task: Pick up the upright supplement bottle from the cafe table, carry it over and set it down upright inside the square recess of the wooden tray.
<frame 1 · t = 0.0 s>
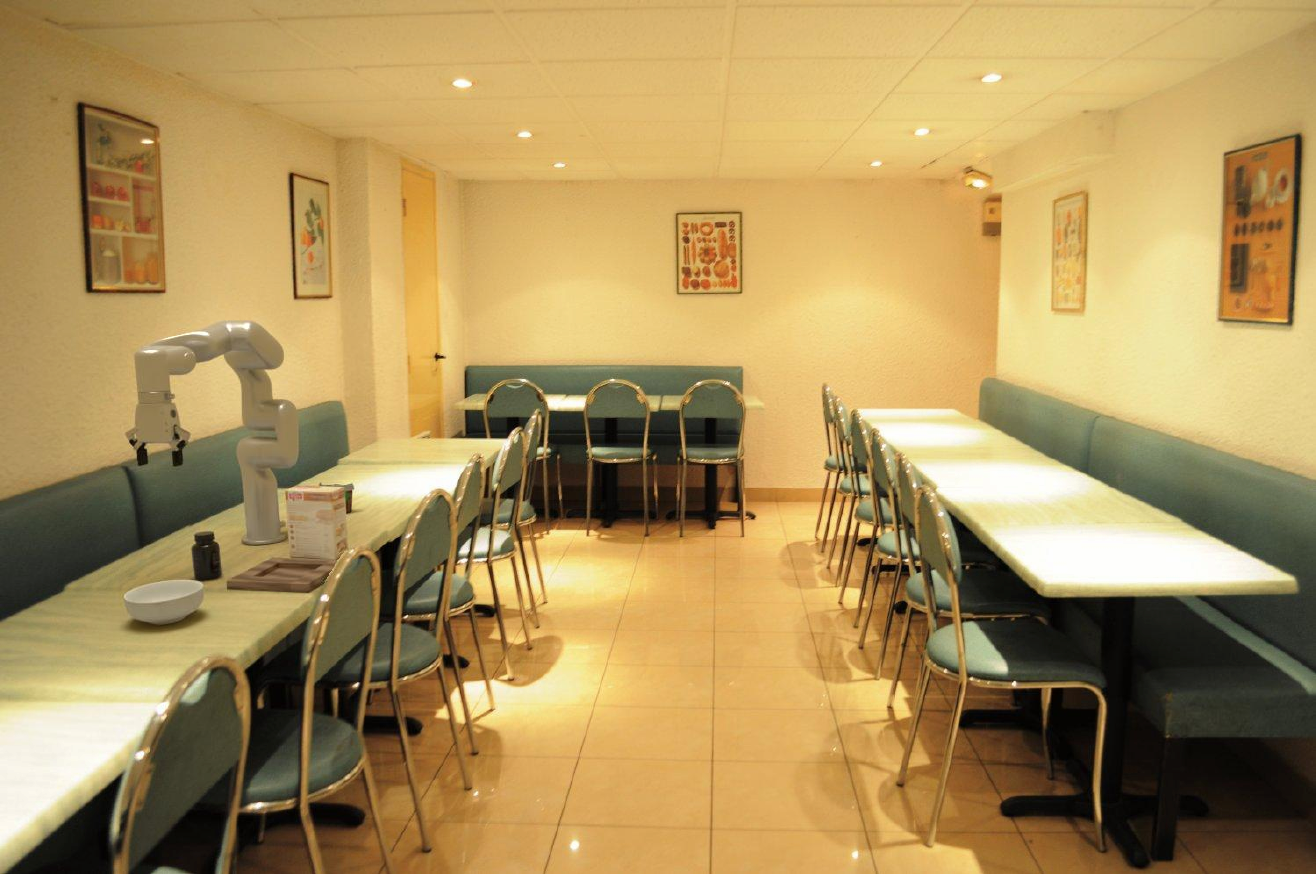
hand: (160, 465, 261), 31 cm above the table, fingers open, 9 cm apart
cereal bowl: (166, 620, 239), on the table
wooden tray: (289, 578, 270), on the table
coffeecake box: (319, 556, 292), on the table
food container: (334, 514, 343), on the table
supplement bottle: (208, 578, 272), on the table
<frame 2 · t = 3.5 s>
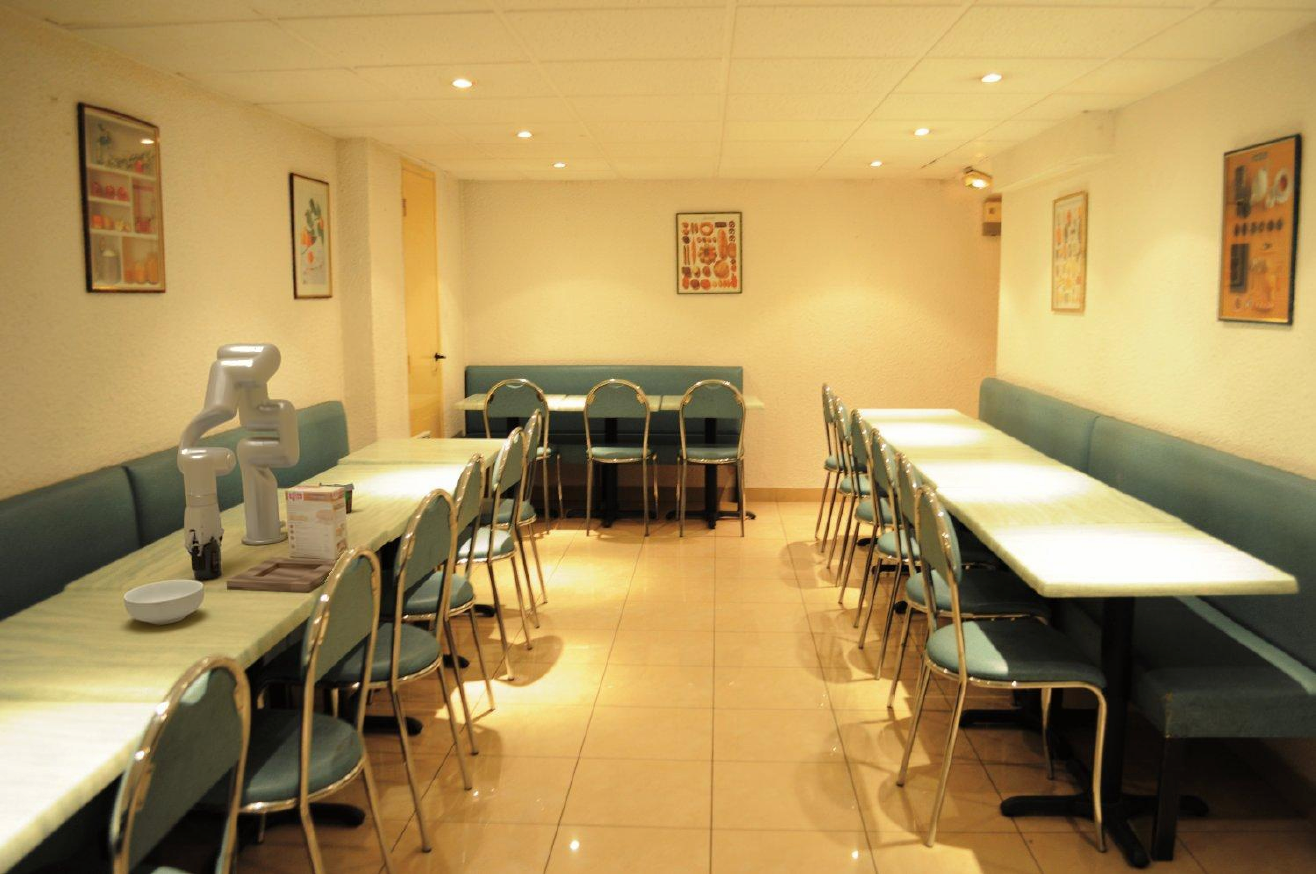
hand: (207, 565, 271), 3 cm above the table, fingers closed on supplement bottle, 6 cm apart
supplement bottle: (208, 578, 272), on the table, touching gripper
everything else where it was.
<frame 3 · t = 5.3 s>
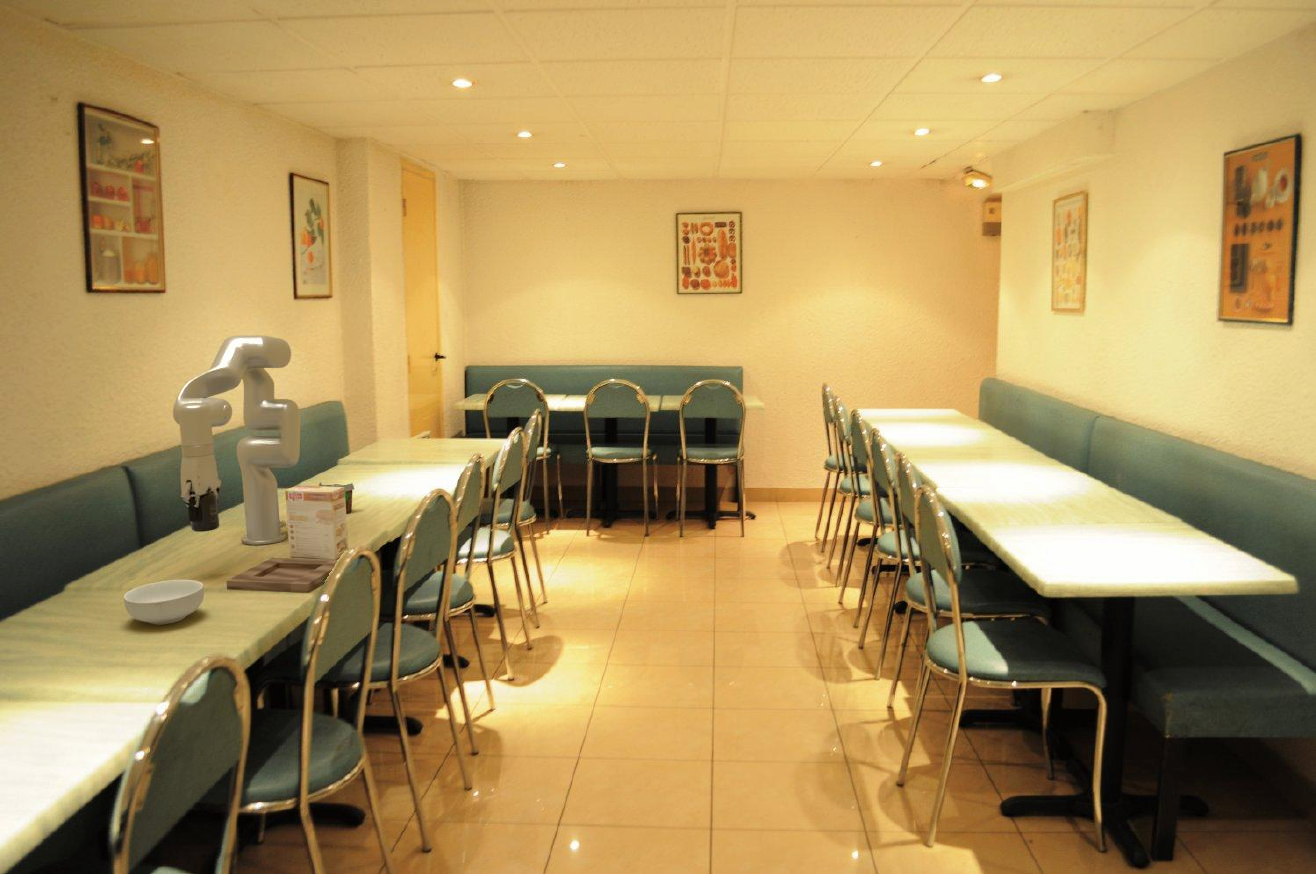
hand: (204, 517, 270), 16 cm above the table, fingers closed on supplement bottle, 6 cm apart
supplement bottle: (205, 529, 271), point 13 cm above the table, touching gripper
everything else where it was.
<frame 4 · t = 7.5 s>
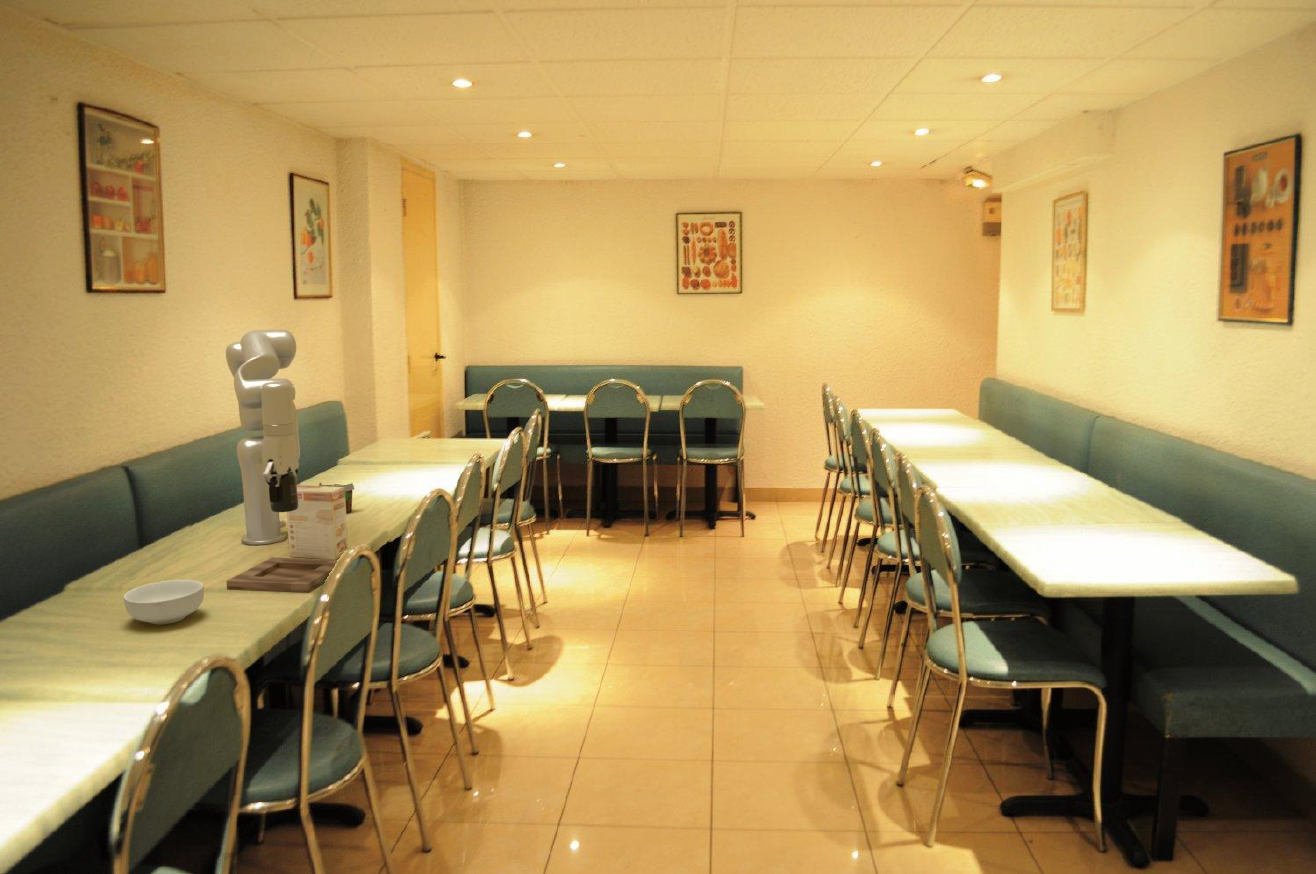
hand: (283, 497, 267), 21 cm above the table, fingers closed on supplement bottle, 6 cm apart
supplement bottle: (284, 510, 268), point 18 cm above the table, touching gripper
everything else where it was.
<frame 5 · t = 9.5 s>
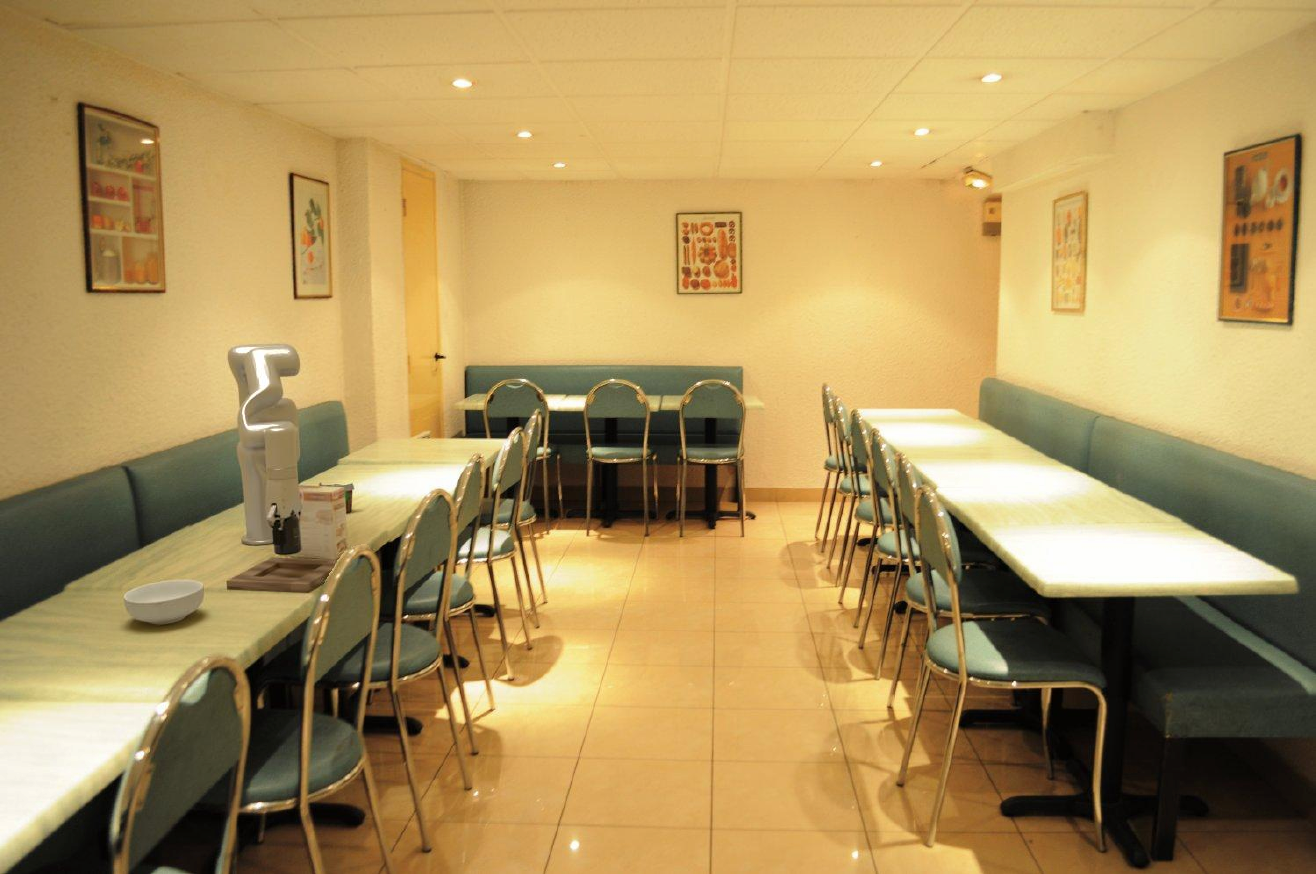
hand: (286, 540, 269), 10 cm above the table, fingers closed on supplement bottle, 6 cm apart
supplement bottle: (287, 553, 269), point 7 cm above the table, touching gripper
everything else where it was.
when the fingers open (5 cm above the table, at t = 11.4 s): supplement bottle drops 1 cm, resting on wooden tray.
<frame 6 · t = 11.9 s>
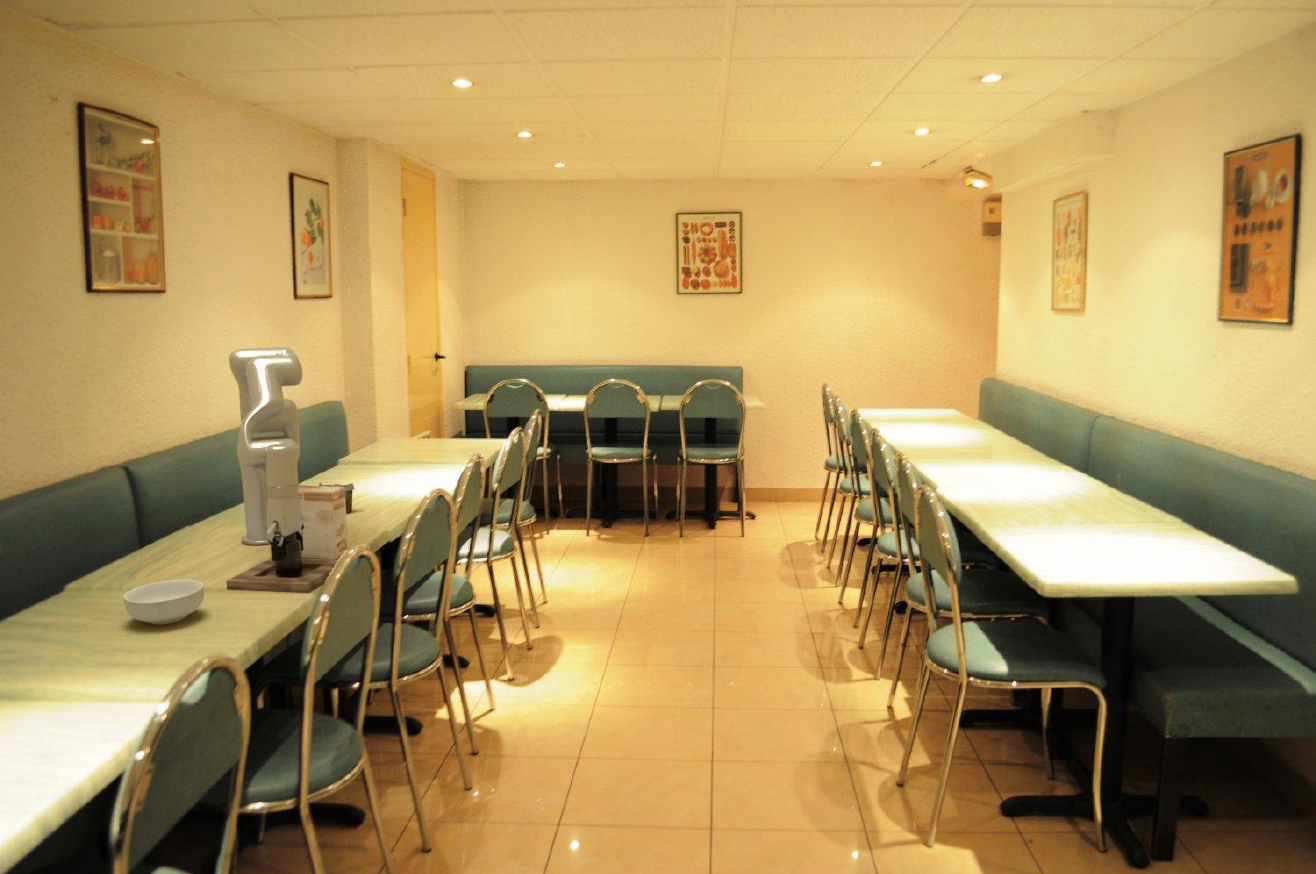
hand: (288, 555, 269), 6 cm above the table, fingers open, 9 cm apart
supplement bottle: (289, 575, 271), point 1 cm above the table, touching wooden tray
everything else where it was.
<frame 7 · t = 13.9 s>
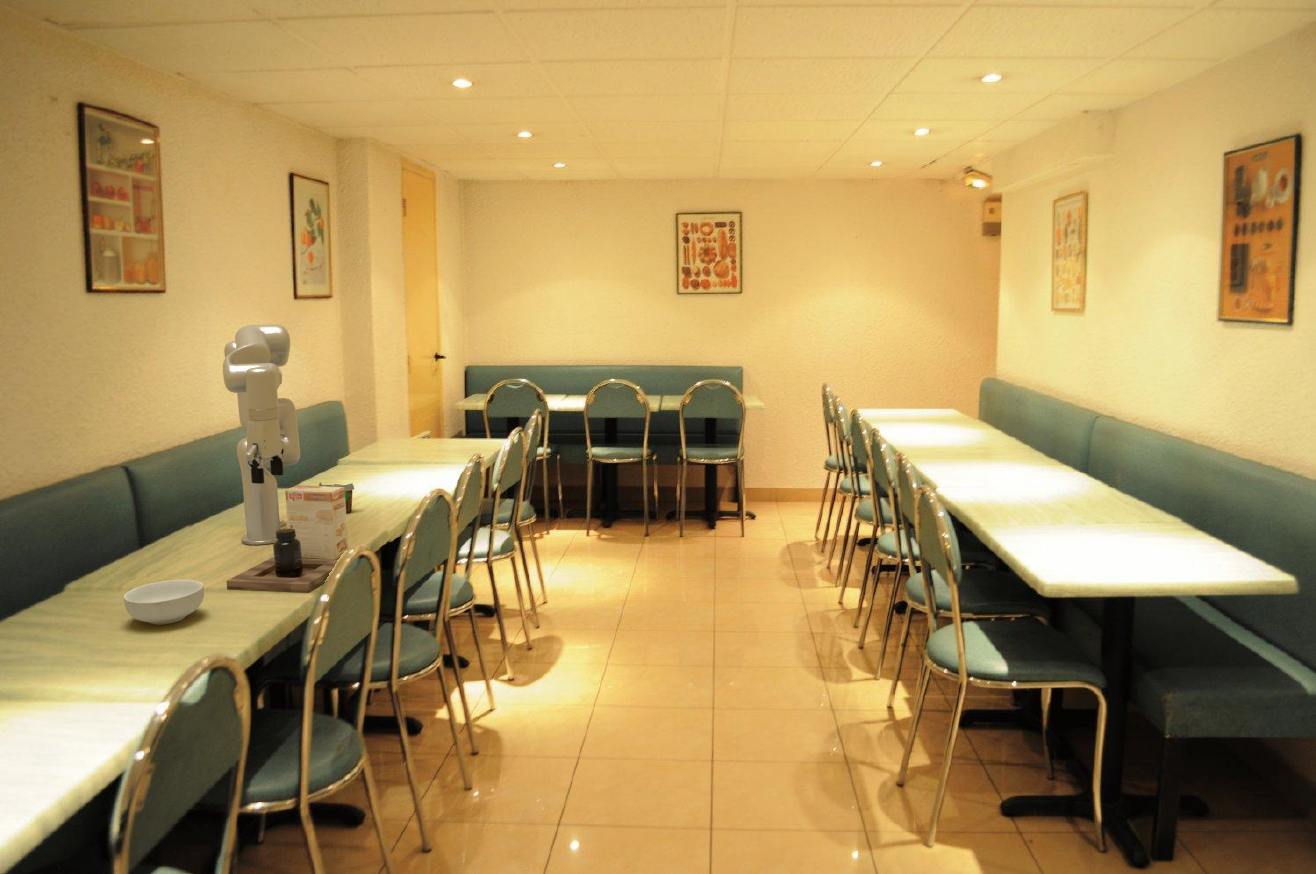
hand: (267, 479, 271), 26 cm above the table, fingers open, 9 cm apart
nothing on the table moved.
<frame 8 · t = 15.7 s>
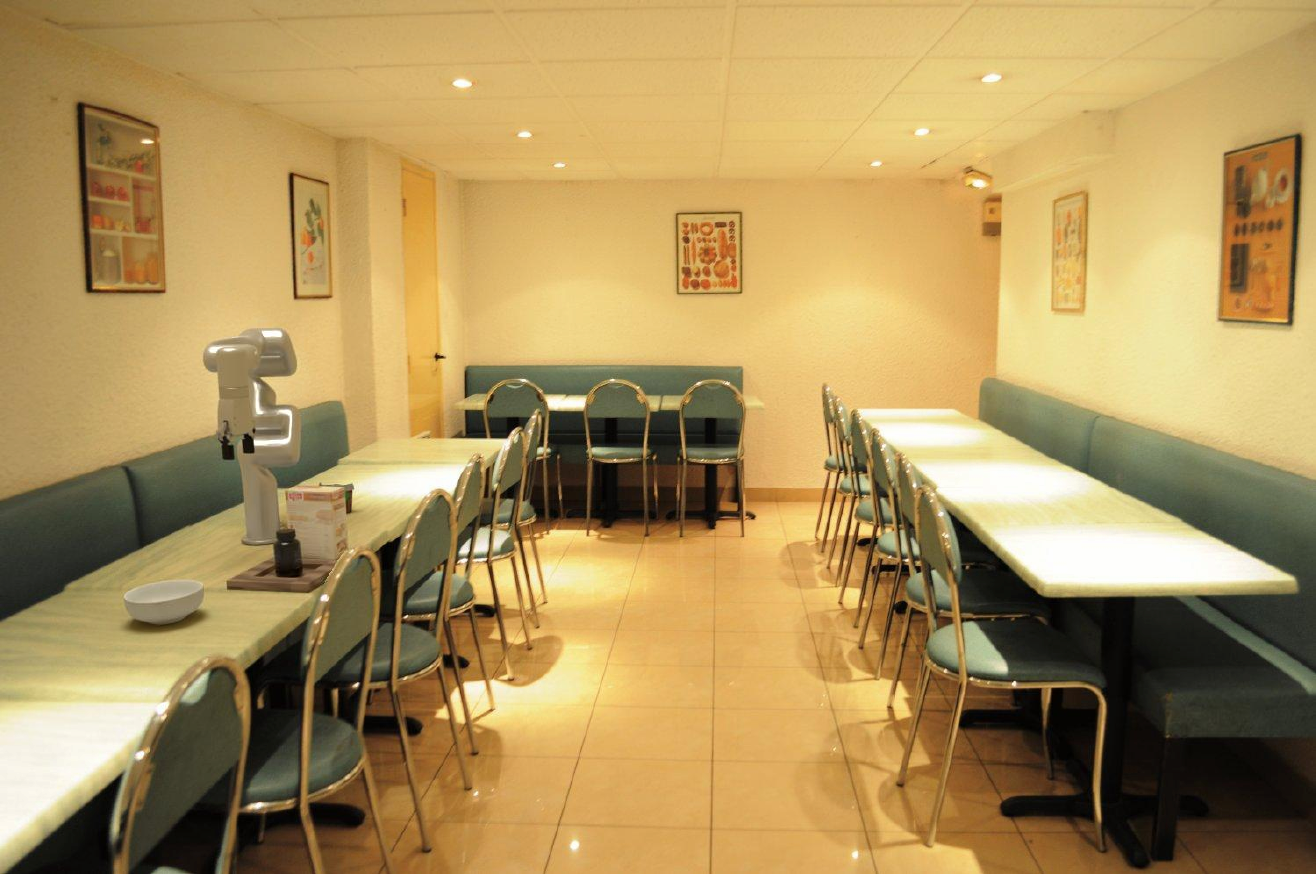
hand: (238, 456, 278), 30 cm above the table, fingers open, 9 cm apart
nothing on the table moved.
at the end: supplement bottle 0.4 cm off-centre on the wooden tray, point 0.6 cm above the wooden tray's base; supplement bottle tilted 0°; the gripper is holding nothing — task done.
